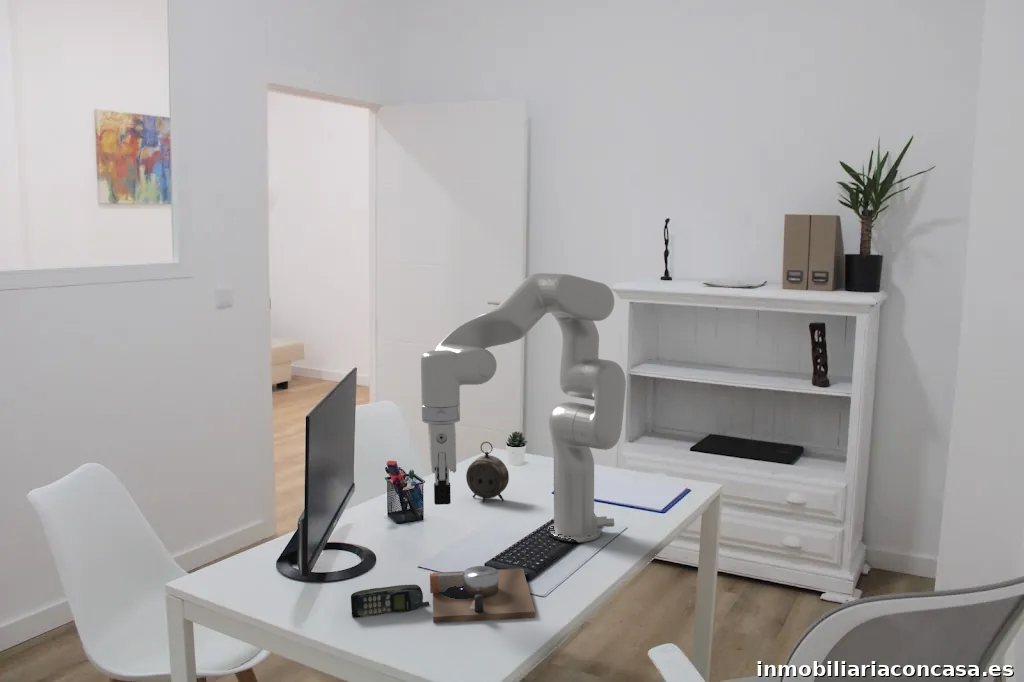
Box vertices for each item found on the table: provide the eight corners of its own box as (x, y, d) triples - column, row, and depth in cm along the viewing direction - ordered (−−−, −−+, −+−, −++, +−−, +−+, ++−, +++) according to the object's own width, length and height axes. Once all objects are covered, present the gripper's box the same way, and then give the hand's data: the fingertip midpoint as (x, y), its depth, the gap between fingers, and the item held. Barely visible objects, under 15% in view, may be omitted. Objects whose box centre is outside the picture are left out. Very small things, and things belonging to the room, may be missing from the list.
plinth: (523, 573, 187) (523, 554, 187) (534, 617, 167) (534, 596, 166) (433, 578, 186) (432, 559, 185) (433, 622, 165) (432, 601, 164)
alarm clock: (509, 500, 237) (508, 440, 235) (502, 506, 232) (501, 445, 230) (472, 496, 241) (471, 437, 239) (464, 501, 236) (462, 442, 234)
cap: (497, 581, 180) (496, 565, 179) (499, 595, 173) (499, 578, 172) (430, 584, 178) (429, 568, 178) (430, 599, 172) (429, 582, 171)
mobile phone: (351, 596, 166) (429, 584, 170) (349, 590, 169) (427, 578, 173) (352, 621, 167) (431, 609, 171) (351, 614, 170) (428, 602, 174)
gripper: (461, 420, 168) (462, 514, 170) (458, 405, 183) (460, 491, 185) (421, 421, 167) (423, 515, 170) (422, 406, 182) (423, 492, 184)
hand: (442, 503), depth 177 cm, fingers closed
